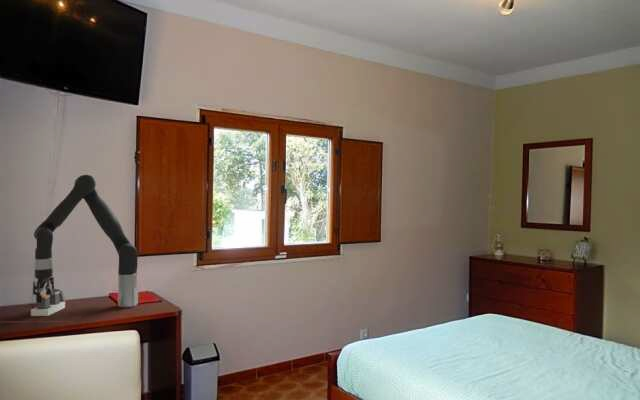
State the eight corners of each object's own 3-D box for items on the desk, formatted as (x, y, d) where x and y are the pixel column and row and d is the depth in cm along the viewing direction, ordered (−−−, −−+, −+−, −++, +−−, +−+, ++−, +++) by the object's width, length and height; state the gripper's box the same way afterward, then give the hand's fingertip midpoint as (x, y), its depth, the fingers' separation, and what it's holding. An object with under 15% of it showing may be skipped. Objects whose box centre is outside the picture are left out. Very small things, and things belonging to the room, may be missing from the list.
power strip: (64, 309, 233) (64, 301, 233) (47, 317, 217) (47, 309, 217) (48, 309, 233) (49, 301, 233) (30, 317, 217) (30, 309, 217)
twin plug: (59, 308, 232) (59, 290, 232) (55, 310, 228) (55, 292, 228) (51, 308, 232) (51, 291, 232) (46, 310, 228) (47, 292, 227)
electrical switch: (66, 305, 243) (65, 288, 242) (56, 308, 238) (55, 291, 238) (57, 303, 248) (56, 286, 247) (47, 305, 244) (46, 289, 243)
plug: (49, 312, 223) (49, 294, 223) (45, 315, 219) (45, 296, 219) (41, 312, 222) (41, 294, 222) (36, 315, 218) (36, 296, 218)
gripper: (43, 270, 214) (43, 304, 214) (59, 265, 228) (59, 297, 228) (27, 270, 213) (27, 304, 213) (43, 265, 227) (44, 297, 228)
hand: (44, 300), depth 221 cm, fingers open, 8 cm apart
